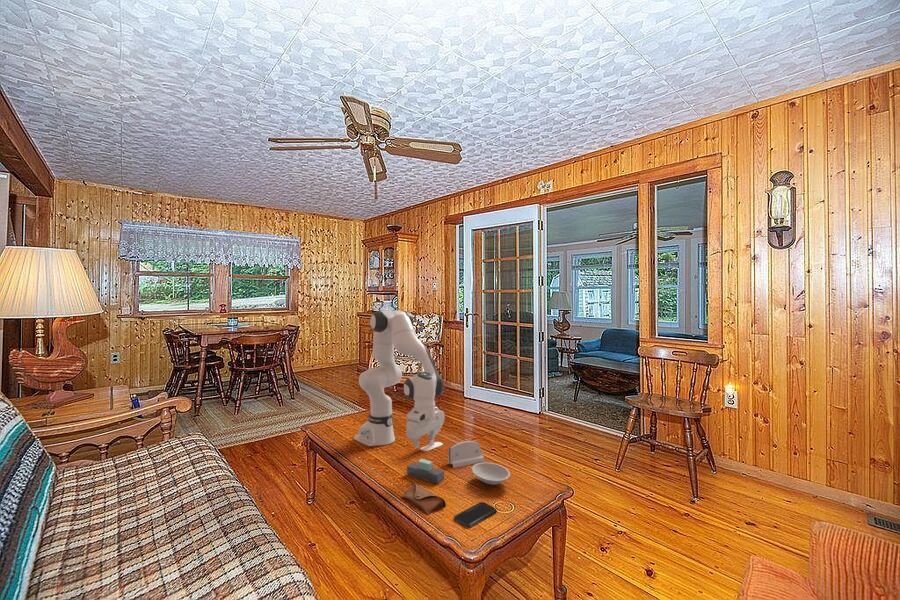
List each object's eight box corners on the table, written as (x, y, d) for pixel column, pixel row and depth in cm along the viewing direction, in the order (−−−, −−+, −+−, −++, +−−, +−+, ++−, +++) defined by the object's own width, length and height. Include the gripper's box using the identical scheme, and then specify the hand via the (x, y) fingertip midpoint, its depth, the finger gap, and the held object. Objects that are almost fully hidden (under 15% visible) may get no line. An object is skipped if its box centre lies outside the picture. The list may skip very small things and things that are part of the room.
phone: (498, 509, 142) (468, 526, 132) (498, 512, 142) (468, 529, 132) (482, 501, 148) (452, 516, 138) (482, 504, 148) (452, 519, 138)
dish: (518, 487, 160) (518, 474, 160) (490, 497, 152) (490, 484, 152) (491, 470, 175) (491, 459, 174) (464, 479, 167) (464, 467, 167)
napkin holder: (452, 468, 177) (449, 444, 180) (448, 467, 181) (445, 444, 184) (485, 461, 184) (481, 438, 187) (480, 461, 188) (477, 439, 191)
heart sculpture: (438, 440, 210) (438, 406, 209) (445, 443, 206) (445, 408, 206) (417, 449, 198) (417, 413, 198) (424, 452, 195) (424, 415, 195)
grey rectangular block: (407, 474, 171) (407, 466, 171) (413, 470, 175) (413, 462, 175) (437, 483, 162) (437, 475, 162) (444, 479, 166) (444, 470, 166)
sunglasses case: (397, 496, 152) (405, 479, 154) (410, 500, 157) (417, 483, 159) (428, 515, 139) (436, 496, 142) (441, 518, 144) (448, 499, 146)
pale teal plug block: (418, 475, 169) (418, 461, 169) (422, 472, 172) (421, 458, 171) (429, 478, 166) (429, 464, 166) (432, 475, 168) (432, 461, 168)
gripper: (432, 404, 179) (432, 434, 179) (403, 416, 161) (403, 449, 162) (444, 406, 175) (443, 437, 176) (416, 419, 158) (415, 453, 159)
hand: (424, 443), depth 169 cm, fingers open, 8 cm apart
